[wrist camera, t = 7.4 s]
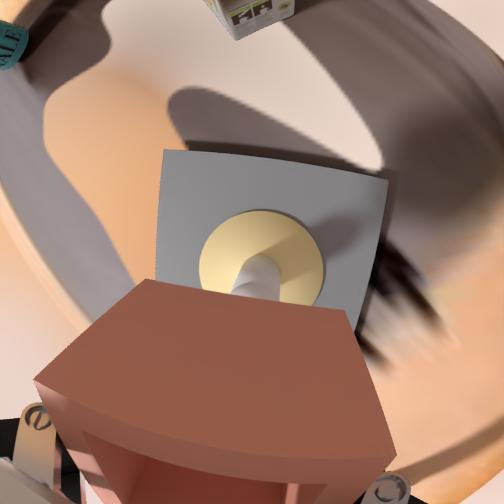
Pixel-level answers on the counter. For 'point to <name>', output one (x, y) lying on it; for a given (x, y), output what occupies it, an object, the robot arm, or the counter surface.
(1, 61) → the beverage bottle
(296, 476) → the collar
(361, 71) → the counter surface
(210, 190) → the post board
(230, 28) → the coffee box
